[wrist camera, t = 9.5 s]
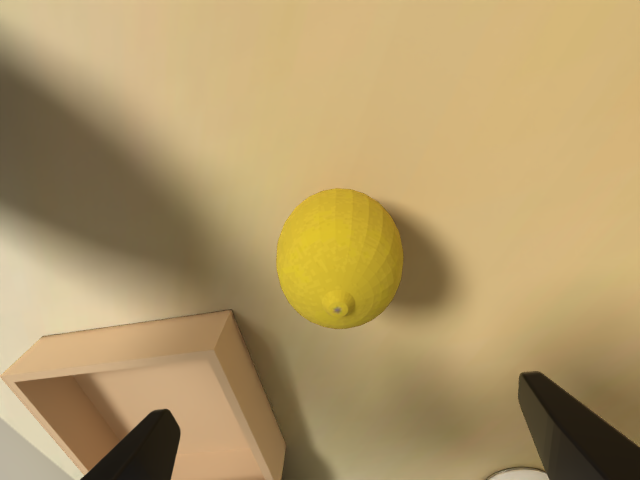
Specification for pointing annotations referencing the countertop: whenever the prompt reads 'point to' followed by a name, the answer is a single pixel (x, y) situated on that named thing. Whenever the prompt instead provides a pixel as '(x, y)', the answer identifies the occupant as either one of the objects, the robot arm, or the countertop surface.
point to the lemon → (339, 258)
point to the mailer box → (155, 394)
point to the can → (519, 474)
